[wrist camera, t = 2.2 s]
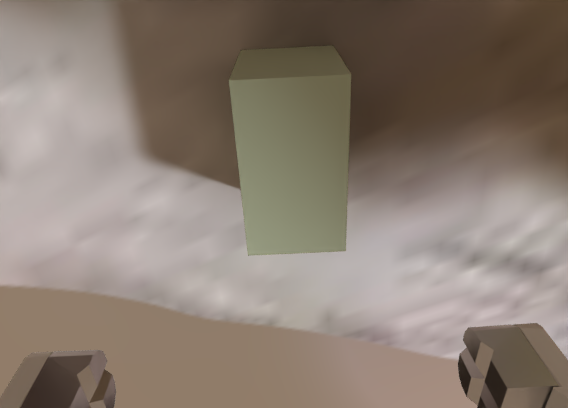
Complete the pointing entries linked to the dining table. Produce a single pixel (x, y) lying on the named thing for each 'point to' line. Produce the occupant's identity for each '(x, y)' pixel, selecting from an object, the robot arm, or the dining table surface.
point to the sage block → (292, 148)
